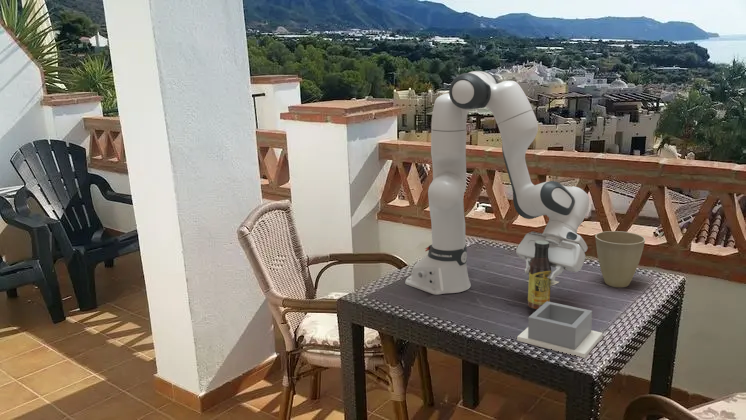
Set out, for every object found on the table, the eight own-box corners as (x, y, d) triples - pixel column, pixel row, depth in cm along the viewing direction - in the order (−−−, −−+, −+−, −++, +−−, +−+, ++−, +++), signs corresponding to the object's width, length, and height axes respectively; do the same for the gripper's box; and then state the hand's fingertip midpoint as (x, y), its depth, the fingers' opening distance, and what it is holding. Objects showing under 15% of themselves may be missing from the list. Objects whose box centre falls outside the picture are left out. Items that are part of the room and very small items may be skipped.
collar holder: (517, 340, 157) (517, 315, 155) (538, 321, 168) (538, 298, 166) (584, 358, 146) (585, 331, 144) (602, 336, 157) (603, 312, 155)
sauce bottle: (534, 312, 169) (536, 246, 165) (523, 304, 175) (524, 240, 170) (554, 308, 171) (556, 243, 166) (542, 300, 177) (544, 237, 172)
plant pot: (635, 295, 182) (638, 246, 179) (587, 286, 191) (589, 239, 188) (647, 280, 194) (650, 234, 190) (601, 272, 203) (603, 228, 199)
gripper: (524, 225, 180) (504, 263, 176) (586, 237, 165) (566, 279, 161) (531, 235, 184) (513, 273, 180) (593, 249, 169) (574, 290, 165)
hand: (538, 276), depth 170 cm, fingers closed on sauce bottle, 6 cm apart
